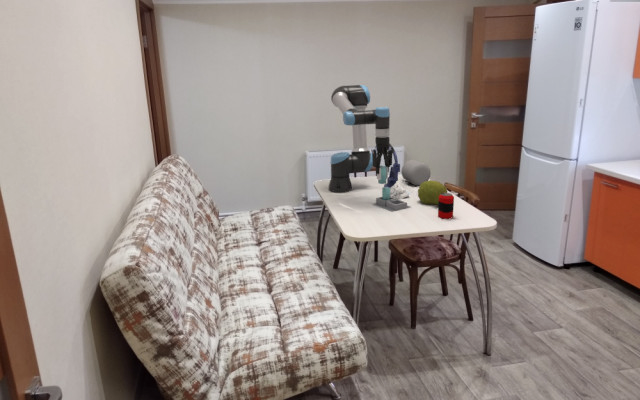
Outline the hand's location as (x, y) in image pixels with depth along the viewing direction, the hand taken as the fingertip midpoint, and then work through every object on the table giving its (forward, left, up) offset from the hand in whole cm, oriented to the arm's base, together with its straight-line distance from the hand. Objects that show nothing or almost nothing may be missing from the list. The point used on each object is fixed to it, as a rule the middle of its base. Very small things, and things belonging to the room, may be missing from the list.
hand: (382, 178), depth 259 cm
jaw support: (-6, +17, -16) cm, 24 cm away
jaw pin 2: (0, +3, -15) cm, 15 cm away
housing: (+5, +3, -16) cm, 17 cm away
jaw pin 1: (0, 0, -2) cm, 2 cm away
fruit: (+14, +25, -16) cm, 33 cm away
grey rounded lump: (-31, +48, -16) cm, 60 cm away
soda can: (+34, +15, -16) cm, 40 cm away
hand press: (-26, +29, -16) cm, 42 cm away
